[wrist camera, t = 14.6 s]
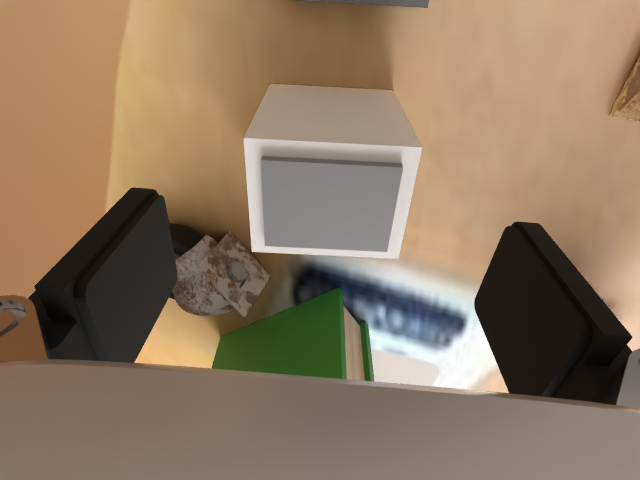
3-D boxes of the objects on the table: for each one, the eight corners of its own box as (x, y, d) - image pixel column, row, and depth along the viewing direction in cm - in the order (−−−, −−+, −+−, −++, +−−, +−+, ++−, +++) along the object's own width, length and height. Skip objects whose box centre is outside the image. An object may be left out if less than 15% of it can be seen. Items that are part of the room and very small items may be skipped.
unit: (396, 90, 31) (430, 151, 21) (382, 179, 36) (404, 264, 25) (266, 83, 31) (235, 141, 21) (269, 173, 36) (245, 257, 25)
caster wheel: (150, 234, 43) (203, 192, 38) (217, 305, 46) (274, 274, 41) (108, 268, 38) (163, 224, 33) (186, 345, 41) (248, 316, 36)
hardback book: (339, 287, 44) (347, 543, 24) (368, 325, 48) (395, 574, 28) (220, 337, 49) (150, 578, 30) (254, 367, 53) (211, 600, 34)
